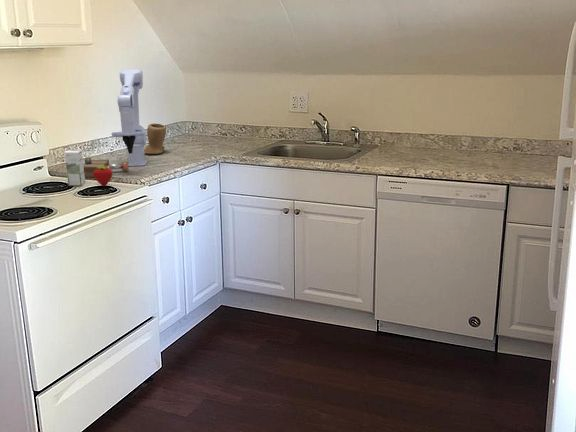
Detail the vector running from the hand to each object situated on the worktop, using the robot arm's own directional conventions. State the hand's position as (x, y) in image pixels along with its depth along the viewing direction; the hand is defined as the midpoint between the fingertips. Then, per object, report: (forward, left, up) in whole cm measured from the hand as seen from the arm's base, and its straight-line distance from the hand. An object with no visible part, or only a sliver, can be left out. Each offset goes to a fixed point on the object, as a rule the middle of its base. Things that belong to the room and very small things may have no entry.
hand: (130, 152), depth 284 cm
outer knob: (+3, -14, -9) cm, 17 cm away
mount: (0, -16, -9) cm, 18 cm away
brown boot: (-46, +6, -10) cm, 47 cm away
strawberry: (+22, -8, -10) cm, 25 cm away
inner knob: (-4, -8, -9) cm, 13 cm away
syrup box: (+17, -20, -10) cm, 28 cm away
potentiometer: (0, -19, -4) cm, 19 cm away
